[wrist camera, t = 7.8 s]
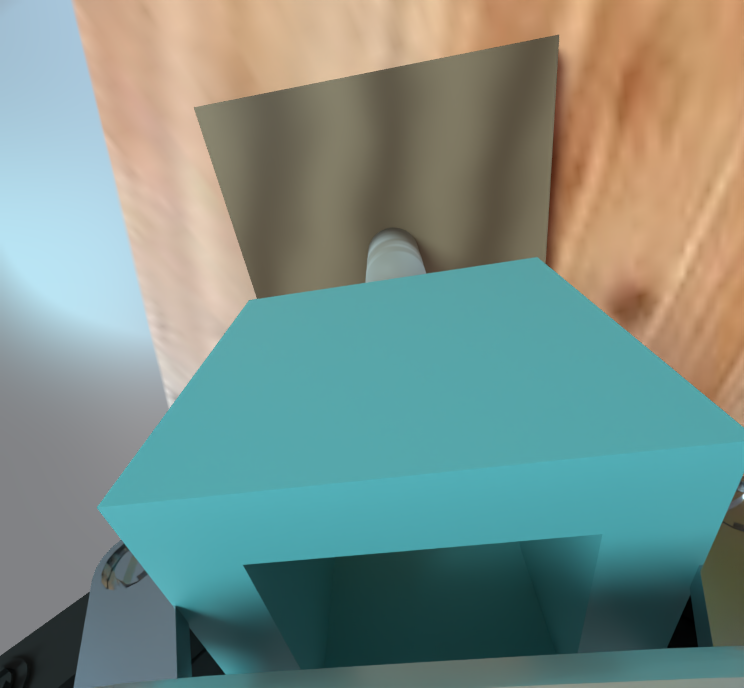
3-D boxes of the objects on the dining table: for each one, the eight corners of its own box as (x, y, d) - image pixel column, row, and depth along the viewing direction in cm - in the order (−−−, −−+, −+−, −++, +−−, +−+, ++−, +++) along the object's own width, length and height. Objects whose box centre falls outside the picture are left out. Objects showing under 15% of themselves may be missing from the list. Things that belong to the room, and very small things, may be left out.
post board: (547, 40, 19) (616, 5, 14) (532, 348, 28) (571, 405, 22) (205, 108, 21) (140, 102, 15) (291, 379, 30) (271, 439, 24)
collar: (537, 257, 9) (757, 439, 4) (526, 468, 12) (635, 718, 7) (249, 300, 10) (96, 508, 4) (314, 490, 13) (271, 734, 8)
